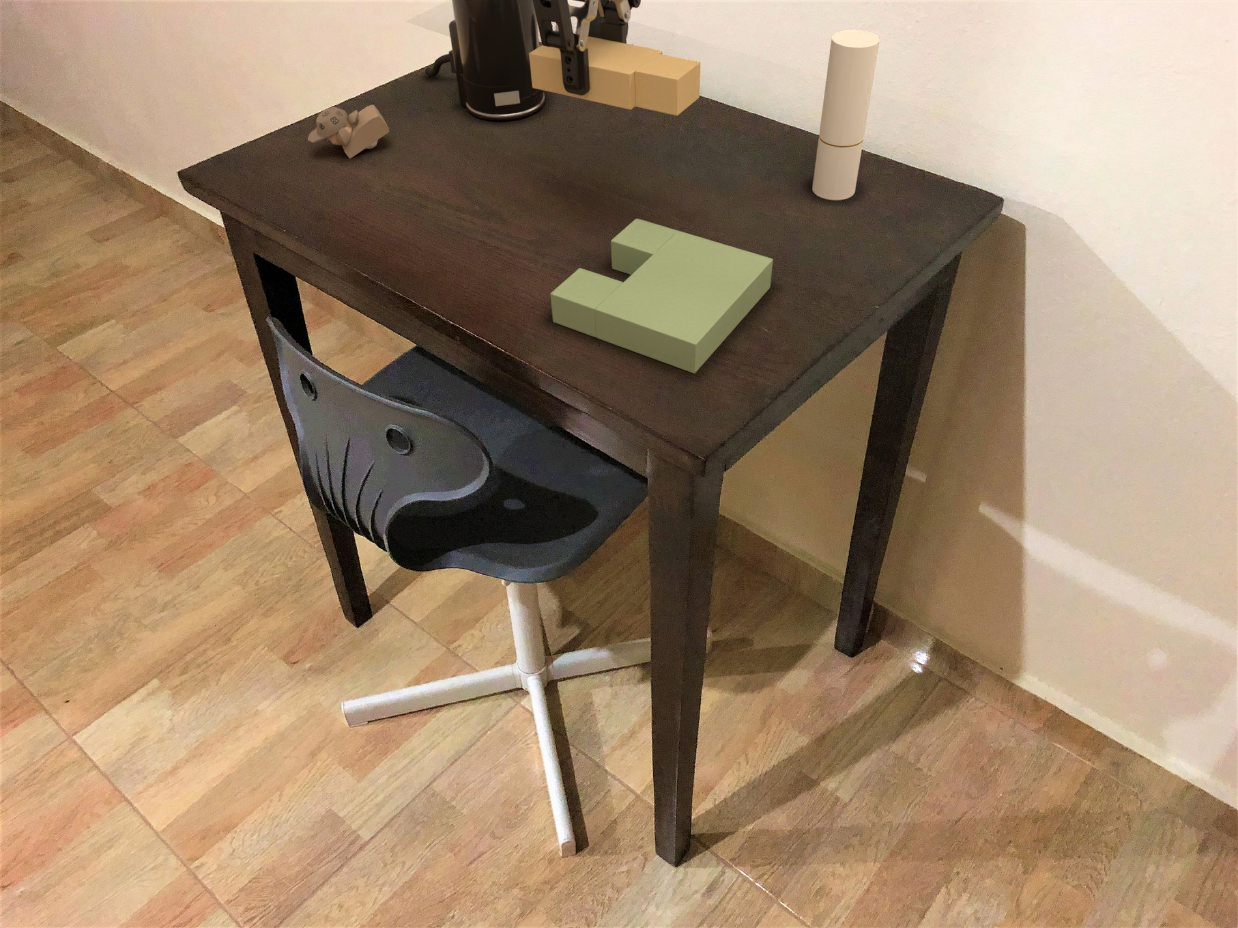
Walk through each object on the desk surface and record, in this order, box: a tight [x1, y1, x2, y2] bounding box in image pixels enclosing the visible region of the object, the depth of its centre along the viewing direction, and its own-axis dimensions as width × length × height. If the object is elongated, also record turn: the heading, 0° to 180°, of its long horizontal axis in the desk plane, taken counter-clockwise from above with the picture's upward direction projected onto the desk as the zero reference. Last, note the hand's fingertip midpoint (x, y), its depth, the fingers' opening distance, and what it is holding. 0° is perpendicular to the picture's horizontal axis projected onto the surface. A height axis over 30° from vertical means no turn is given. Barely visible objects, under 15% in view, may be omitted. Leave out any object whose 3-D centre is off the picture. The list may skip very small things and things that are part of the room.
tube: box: [812, 29, 881, 201], centre depth 90 cm, size 4×4×15 cm
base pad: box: [550, 218, 774, 374], centre depth 81 cm, size 14×14×3 cm
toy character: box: [307, 104, 390, 159], centre depth 103 cm, size 4×8×6 cm, turn 112°
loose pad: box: [529, 36, 701, 116], centre depth 79 cm, size 14×6×3 cm, turn 59°
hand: (596, 78), depth 80 cm, fingers closed on loose pad, 5 cm apart
